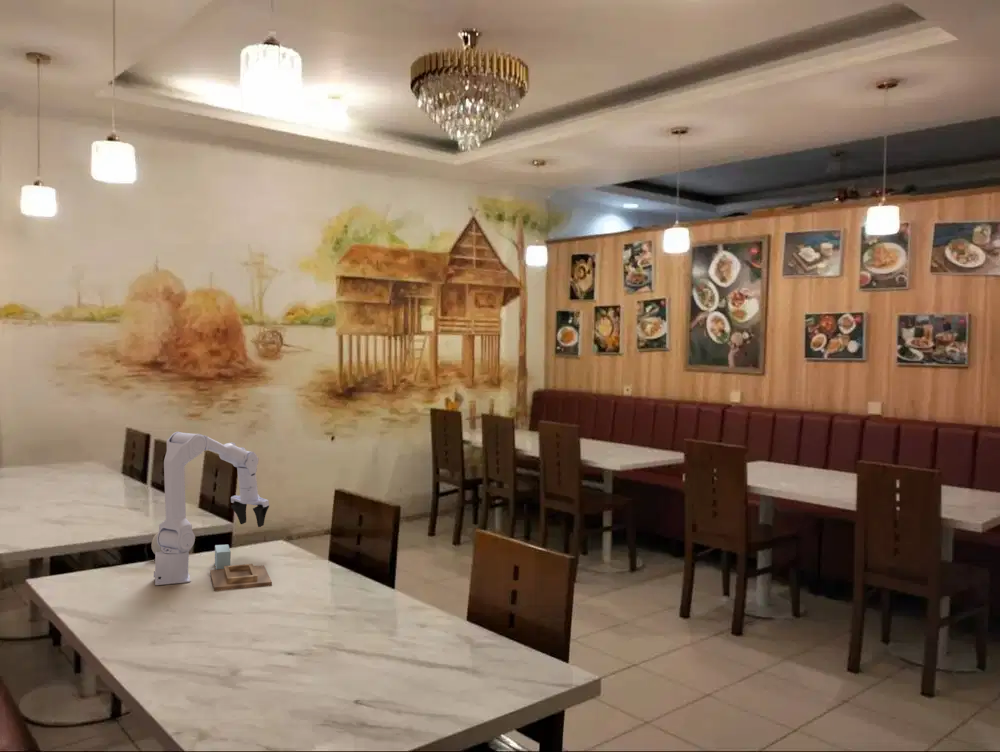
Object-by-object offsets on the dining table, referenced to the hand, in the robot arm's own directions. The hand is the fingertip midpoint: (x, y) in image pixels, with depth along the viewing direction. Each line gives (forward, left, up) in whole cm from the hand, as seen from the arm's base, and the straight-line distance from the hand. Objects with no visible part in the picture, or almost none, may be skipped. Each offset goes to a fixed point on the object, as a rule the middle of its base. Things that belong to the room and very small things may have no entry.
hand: (252, 524), depth 251 cm
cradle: (-6, -25, -11) cm, 28 cm away
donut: (-26, +6, -11) cm, 29 cm away
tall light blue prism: (-10, -10, -11) cm, 18 cm away
